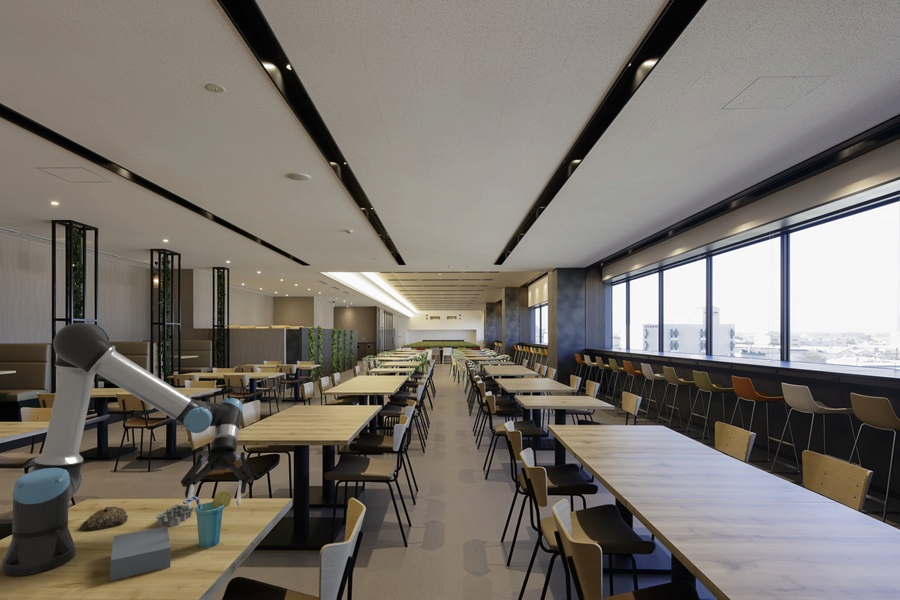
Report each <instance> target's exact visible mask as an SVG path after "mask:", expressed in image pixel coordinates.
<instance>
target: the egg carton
mask: <svg viewBox="0 0 900 600" xmlns="http://www.w3.org/2000/svg"><path fill="white" fill-rule="evenodd" d="M193 511H195V507H194V506H193V507H191V510H188V509H187V507H186V505H183V504H182V505H179V504H175V505H174V506H173V507H170V508H167V509H166V510H165V511H163V512H162V513H158V514H157V515H156V516H155V519H156V520H157V525H158V526H162V527H165V526H168V527H169V528H172V526H173V527H176V526H179V525H180V524H181V523H182V521H183V522H186V520H187V519H189V518H192V517H193ZM173 515H175V516H173ZM191 516H192V517H191ZM188 517H189V518H188ZM164 525H165V526H164Z"/></svg>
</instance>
